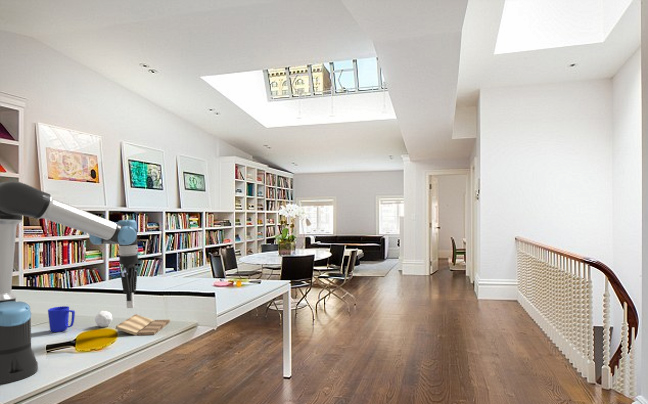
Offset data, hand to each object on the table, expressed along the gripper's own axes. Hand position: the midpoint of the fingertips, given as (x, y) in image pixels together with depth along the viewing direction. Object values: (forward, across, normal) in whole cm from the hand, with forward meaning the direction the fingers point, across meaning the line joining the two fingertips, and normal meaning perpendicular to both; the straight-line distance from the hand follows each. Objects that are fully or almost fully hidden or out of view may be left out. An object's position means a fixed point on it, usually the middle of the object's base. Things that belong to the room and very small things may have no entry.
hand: (130, 307), depth 191 cm
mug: (+10, +3, +32) cm, 34 cm away
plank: (+9, +2, -1) cm, 9 cm away
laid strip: (+10, +3, -9) cm, 14 cm away
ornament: (+10, +8, +16) cm, 21 cm away
